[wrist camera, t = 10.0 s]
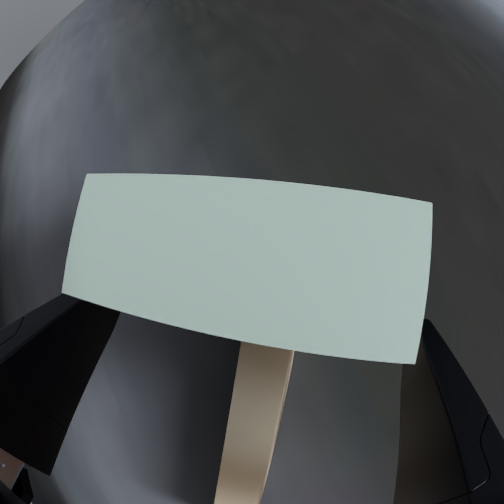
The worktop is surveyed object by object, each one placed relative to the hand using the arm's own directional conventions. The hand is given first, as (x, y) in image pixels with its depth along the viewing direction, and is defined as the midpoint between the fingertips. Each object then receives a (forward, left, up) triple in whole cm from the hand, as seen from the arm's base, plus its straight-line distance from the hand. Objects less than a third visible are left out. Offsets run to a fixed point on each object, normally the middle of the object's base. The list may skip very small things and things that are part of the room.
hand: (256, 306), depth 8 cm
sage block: (+1, 0, -9) cm, 9 cm away
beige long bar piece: (-5, -3, -9) cm, 10 cm away
